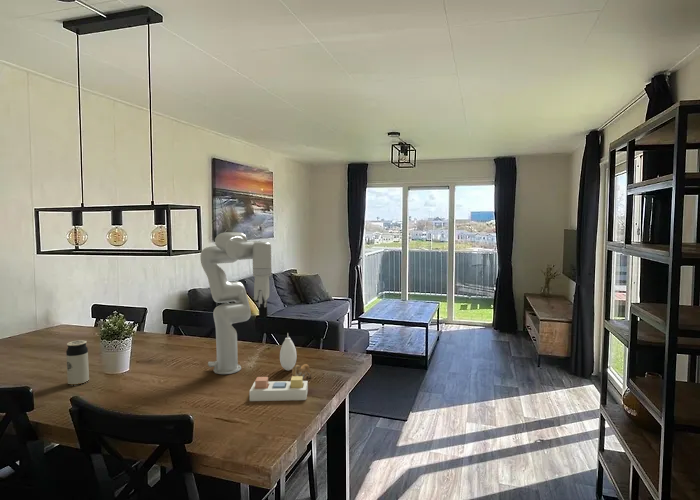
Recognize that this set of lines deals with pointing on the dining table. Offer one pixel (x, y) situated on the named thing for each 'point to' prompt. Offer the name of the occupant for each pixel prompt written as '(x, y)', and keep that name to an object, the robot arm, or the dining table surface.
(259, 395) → the button board
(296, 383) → the ochre button
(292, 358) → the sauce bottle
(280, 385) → the blue button
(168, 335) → the dining table surface
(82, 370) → the travel mug
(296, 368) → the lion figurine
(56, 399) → the dining table surface
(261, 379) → the terracotta button
